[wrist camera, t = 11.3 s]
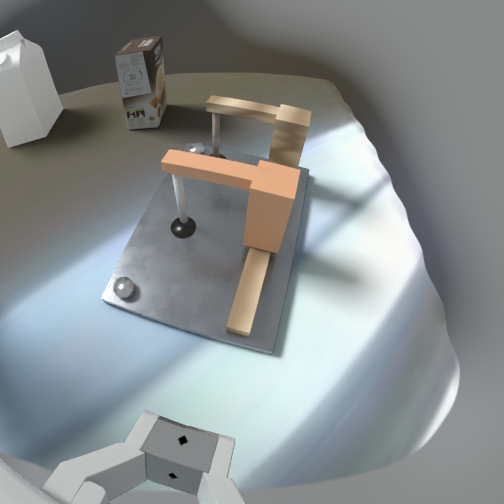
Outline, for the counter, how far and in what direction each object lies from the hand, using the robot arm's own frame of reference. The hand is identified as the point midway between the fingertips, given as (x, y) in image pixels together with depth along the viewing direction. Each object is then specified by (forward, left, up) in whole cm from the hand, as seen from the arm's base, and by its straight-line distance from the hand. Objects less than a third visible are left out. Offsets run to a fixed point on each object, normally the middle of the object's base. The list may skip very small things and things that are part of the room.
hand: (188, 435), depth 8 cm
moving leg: (-4, +21, -19) cm, 28 cm away
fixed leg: (-4, +22, -20) cm, 30 cm away
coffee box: (-28, +44, -21) cm, 56 cm away
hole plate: (-6, +22, -21) cm, 31 cm away
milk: (-58, +38, -21) cm, 73 cm away
